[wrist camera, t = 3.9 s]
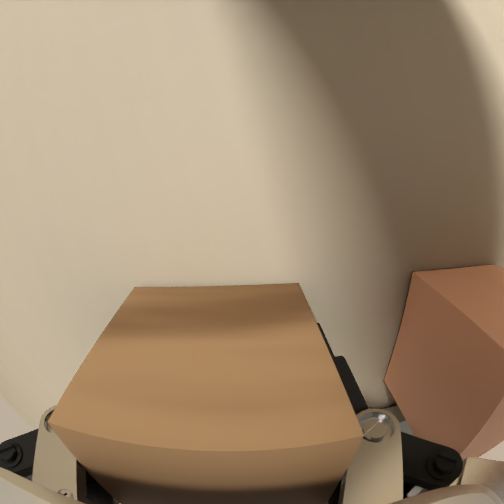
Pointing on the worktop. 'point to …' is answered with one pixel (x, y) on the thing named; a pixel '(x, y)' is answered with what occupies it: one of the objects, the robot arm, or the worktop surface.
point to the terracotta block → (452, 358)
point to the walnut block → (211, 400)
